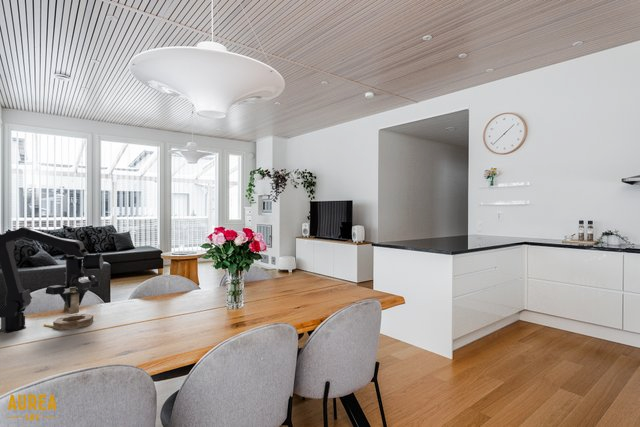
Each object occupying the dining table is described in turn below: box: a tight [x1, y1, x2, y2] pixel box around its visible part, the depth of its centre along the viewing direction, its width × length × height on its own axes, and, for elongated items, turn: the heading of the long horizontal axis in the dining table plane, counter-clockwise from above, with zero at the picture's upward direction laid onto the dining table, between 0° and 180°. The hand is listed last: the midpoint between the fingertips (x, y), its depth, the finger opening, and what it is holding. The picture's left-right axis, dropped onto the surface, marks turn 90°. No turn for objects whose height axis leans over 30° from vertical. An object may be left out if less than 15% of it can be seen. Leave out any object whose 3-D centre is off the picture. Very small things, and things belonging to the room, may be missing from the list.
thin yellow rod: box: [43, 323, 53, 328], centre depth 143 cm, size 1×7×1 cm, turn 67°
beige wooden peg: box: [68, 291, 80, 315], centre depth 146 cm, size 4×4×9 cm
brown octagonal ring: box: [52, 313, 94, 331], centre depth 146 cm, size 13×13×2 cm
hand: (73, 306), depth 146 cm, fingers closed on beige wooden peg, 4 cm apart
